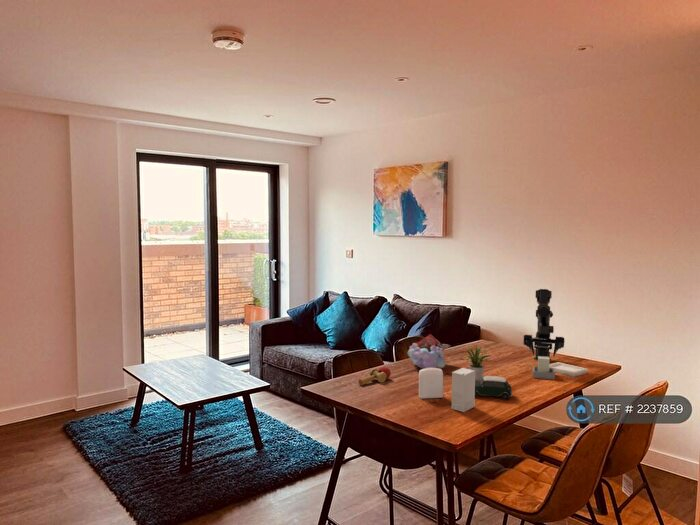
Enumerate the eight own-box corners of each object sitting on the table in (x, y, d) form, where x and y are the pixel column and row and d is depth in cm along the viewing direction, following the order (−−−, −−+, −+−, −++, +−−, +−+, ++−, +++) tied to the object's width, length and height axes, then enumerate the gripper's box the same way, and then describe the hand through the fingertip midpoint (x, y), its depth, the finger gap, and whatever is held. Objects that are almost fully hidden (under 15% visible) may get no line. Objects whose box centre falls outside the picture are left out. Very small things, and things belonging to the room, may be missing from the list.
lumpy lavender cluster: (407, 363, 247) (426, 332, 247) (397, 351, 268) (415, 323, 268) (441, 383, 250) (460, 352, 250) (429, 370, 272) (446, 341, 271)
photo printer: (419, 399, 208) (420, 369, 207) (417, 396, 212) (417, 366, 212) (444, 398, 209) (444, 369, 208) (441, 395, 213) (441, 366, 213)
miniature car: (468, 391, 220) (468, 372, 219) (511, 394, 215) (512, 375, 215) (467, 397, 211) (467, 378, 211) (512, 401, 207) (513, 381, 206)
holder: (532, 372, 249) (532, 366, 249) (553, 374, 246) (553, 368, 246) (532, 377, 240) (532, 371, 240) (554, 379, 237) (554, 373, 236)
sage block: (537, 374, 246) (538, 356, 245) (548, 375, 244) (549, 356, 244) (537, 377, 241) (538, 358, 241) (549, 378, 240) (549, 359, 239)
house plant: (473, 385, 227) (474, 349, 226) (453, 378, 239) (454, 343, 238) (497, 381, 233) (498, 346, 232) (476, 374, 246) (477, 340, 245)
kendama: (368, 390, 224) (396, 377, 236) (365, 376, 224) (393, 364, 236) (356, 389, 230) (384, 377, 242) (353, 376, 230) (381, 364, 242)
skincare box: (461, 404, 202) (462, 367, 201) (475, 407, 198) (476, 370, 197) (450, 409, 196) (451, 371, 195) (464, 412, 192) (465, 374, 191)
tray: (544, 369, 255) (544, 365, 255) (558, 366, 262) (558, 362, 261) (573, 376, 242) (574, 372, 241) (587, 372, 248) (588, 368, 248)
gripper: (524, 318, 252) (523, 344, 242) (564, 320, 245) (565, 347, 235) (523, 331, 259) (523, 357, 249) (563, 334, 253) (564, 360, 243)
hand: (543, 355), depth 244 cm, fingers open, 9 cm apart
